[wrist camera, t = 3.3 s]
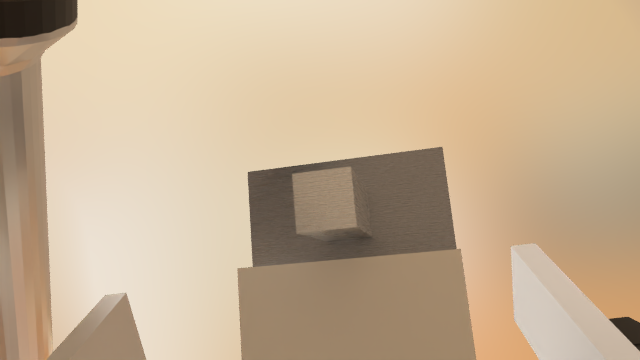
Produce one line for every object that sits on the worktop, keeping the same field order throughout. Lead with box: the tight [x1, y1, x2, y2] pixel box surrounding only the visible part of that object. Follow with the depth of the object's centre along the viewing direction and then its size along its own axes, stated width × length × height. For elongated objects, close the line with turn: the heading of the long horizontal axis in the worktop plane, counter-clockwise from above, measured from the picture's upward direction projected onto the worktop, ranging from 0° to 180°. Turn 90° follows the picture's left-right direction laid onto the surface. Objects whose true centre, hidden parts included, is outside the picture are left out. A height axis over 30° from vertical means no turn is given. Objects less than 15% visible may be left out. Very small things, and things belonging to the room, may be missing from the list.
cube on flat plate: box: [248, 147, 456, 267], centre depth 31 cm, size 13×14×7 cm
